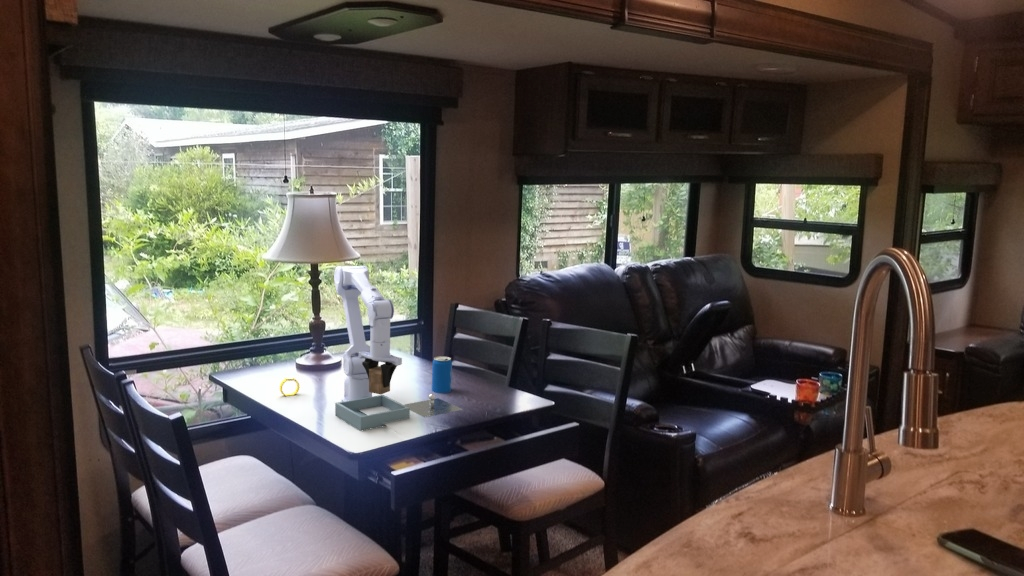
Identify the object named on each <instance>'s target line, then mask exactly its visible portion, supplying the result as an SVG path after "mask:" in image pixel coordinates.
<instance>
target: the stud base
mask: <svg viewBox="0 0 1024 576" xmlns="http://www.w3.org/2000/svg"><path fill="white" fill-rule="evenodd" d="M403 405H405V406H407V407H409V408H410V412H413V413H415V414H417V415H418V416H421V417H423V418H429V417H434V416H440V415H443V414H450V413H453V412H458V411H463V410H464V408H461V407H458V406H456V405H454V404H452V403H450V402H447V401H445V400H443V399H441V398H436V395H435V394H434V393H430V394H429V395H428V399H426V400H422V401H414V402H409V403H404V404H403Z"/></svg>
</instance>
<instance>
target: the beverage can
mask: <svg viewBox="0 0 1024 576" xmlns="http://www.w3.org/2000/svg"><path fill="white" fill-rule="evenodd" d="M452 371H453V361H452V357H449V356H443V355H442V356H435V357H433V360H432V371H431V372H432V373H431V374H432V375H431V391H432V393H435V394H436V393H437V394H447V393H451V392H452V379H453V378H452V373H453V372H452Z"/></svg>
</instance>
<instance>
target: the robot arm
mask: <svg viewBox="0 0 1024 576" xmlns="http://www.w3.org/2000/svg"><path fill="white" fill-rule="evenodd" d="M333 276H334V277H333V279H334V287H335V290H336V294H337V295H339V296H340V297H341V299H342V304H343V308H344V309H343V310H344V316H345V321H346V322H345V323H346V328H347V334H348V339H349V341H348V342H349V345H350V346H349V347H348V348H347V349H346V350H345V351H344V353H343V356H342V361H343V362H342V365H343V366H342V367H343V371H344V374H345V375H346V377H345V378H344V387H343V388H344V389H343V390H344V394H343V396H344V397H343V398H341V402H343V401H349V400H355V399H361V398H366V397H372V396H373V393H371V392H369V369H371V368H374V367H377V366H380V367H381V370H382V375H383V387H384V388H386V387H388V386H389V385H390V386H391V380H392V378H393V375H394V372H395V370H396V369H397V367H399V366H401V365H402V364H403V358H402V357H398V356H395V355H394V354H393V355H392V354H391V351H390V350H391V320H392V319H393V317H394V314H395V307H394V303H393V301H392V299H390V298H384V296H383V295H382V294H381V292H380V291H379V289H378V288H377V287H376V286H375V285H374V286H373V285H372V284H371V282H370V271H369V269H368V267H367V266H366V265H356V266H355V265H354V266H353V265H352V266H350V265H349V266H347V265H346V266H340V265H338V266H337V267H335V270H334V275H333ZM359 296H360V299H361V301H362V302H363V303H364V305H365V307H366V309H367V311H366V312H367V317H368V324H369V326H370V327H369V328H370V329H369V330H370V331H369V332H370V334H369V335H370V340H369V341H370V343H369V345H368V344H367V343H366V342H367V341H366V335H365V330H364V325H363V319H362V313H361V308H360V302H359ZM380 362H381V363H382V364H379V363H380Z"/></svg>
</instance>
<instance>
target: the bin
mask: <svg viewBox="0 0 1024 576" xmlns="http://www.w3.org/2000/svg"><path fill="white" fill-rule="evenodd" d="M334 404H335V408H334V409H335V411H334V415H335V417H337V418H338V419H340V420H342V421H343V422H345V423H346V424H348V425H350V426H352V427H353V428H355V429H357V431H360V432H361V431H362V430H363V431H366V429H368V430H371V429H370V428H373V429H376V427H378V428H382V426H383V427H387V423H390V422H396V421H401V420H407V419H410V416H411V410H410V408H409V407H407V406H405V405H404V404H402V403H400V402H398V401H397V400H395V399H392V398H390V397H388V396H386V395H385V394H381V395H380V394H377V395H372V397H366V398H361V399H355V400H348V401H338V402H334ZM380 406H383V407H385V408H386V409H388V410H387V411H382V412H377V413H371V414H366V413H365V412H363V411H361V410H362V409H369V408H374V407H380ZM363 431H362V432H363Z"/></svg>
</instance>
